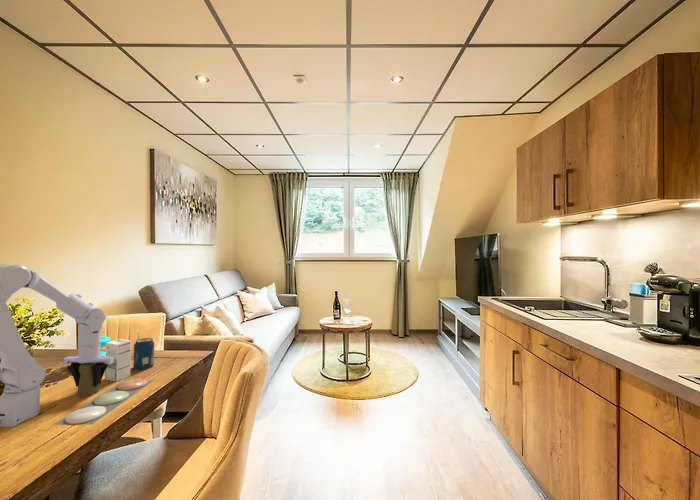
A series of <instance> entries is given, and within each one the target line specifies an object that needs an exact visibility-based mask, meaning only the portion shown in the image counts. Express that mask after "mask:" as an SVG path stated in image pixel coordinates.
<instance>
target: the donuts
mask: <svg viewBox="0 0 700 500" xmlns="http://www.w3.org/2000/svg"><path fill="white" fill-rule="evenodd" d="M110 341H112V339H111V337H110V336H104V335H101V347H100V349H102V348H104V347H105V348H106V343H107V342H110ZM100 354H101V355H103V356H106V351H100Z"/></svg>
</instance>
